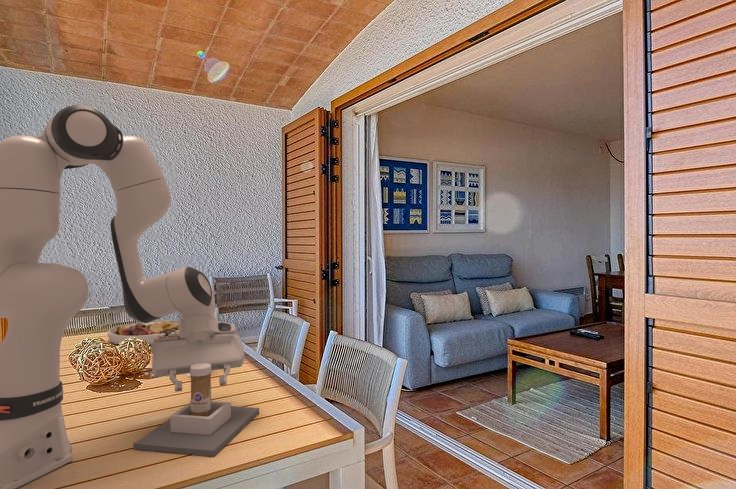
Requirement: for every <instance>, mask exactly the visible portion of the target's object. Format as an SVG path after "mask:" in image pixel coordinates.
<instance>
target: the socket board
mask: <svg viewBox="0 0 736 489" xmlns="http://www.w3.org/2000/svg"><path fill="white" fill-rule="evenodd" d="M258 413H259V414H260V407H248V406H237V405H235V406H233V405H232V402H229V401H228V402H227V401H214V400H213V401H212V400H211V415H210V416H208V417H204V416H191V401H190V402H189V403H188V404H186V405H184V406H183V407H181V408H180V409H178V410H177V411H175V412H174V413H172V414H171V415H170V418H169V419H167V420H166V421H164V422H163V423H161V424H160V425H159V426H157V427H156V428H154V429H153V430H151V431H150V432H148V433H147V434H145V435H144V436H142V437H140V438H139V439H138V440H136V441H135V442H134V443H133V446H132V447H133V448H132V449H133V450H137V451H148V452H157V451H162V452H161V453H168V452H175V453H174V454H179V453H185V454H184V455H190V454H192V455H191V456H193V455H194V456H201V455H202V456H203V457H212V456H213V458H214V457H215V456H217V454H218V453H219V452H220V451H222V449H223V448H225V447H226V445H228V444H229V443H230V442H231V441H232V440H233V439H234V438H235V437H236V436H237V435H238V434H239V433H240V432H241V431H242V430H243V429H244V428H245V427H246V426H247V425H248V424H249V423H250V422H252V420H253V419H255V418H256V417H257V416H258V415H259V414H258ZM257 414H258V415H257ZM256 415H257V416H256ZM244 426H245V427H244ZM243 427H244V428H243ZM242 428H243V429H242ZM241 429H242V430H241ZM240 430H241V431H240ZM239 431H240V432H239ZM238 432H239V433H238ZM237 433H238V434H237ZM236 434H237V435H236ZM235 435H236V436H235ZM234 436H235V437H234ZM233 437H234V438H233ZM232 438H233V439H232ZM231 439H232V440H231ZM230 440H231V441H230ZM229 441H230V442H229Z"/></svg>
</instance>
